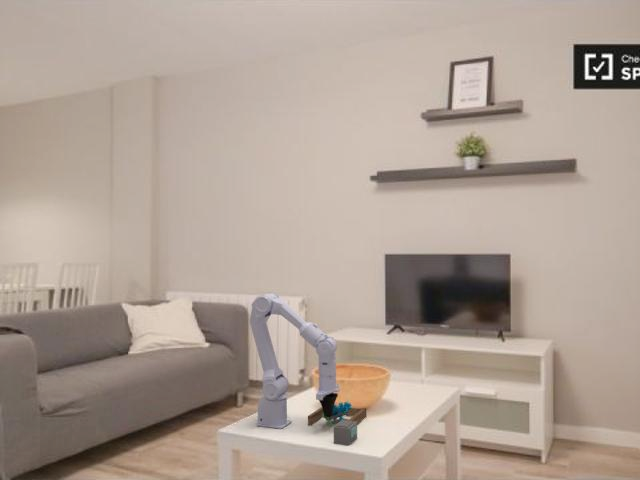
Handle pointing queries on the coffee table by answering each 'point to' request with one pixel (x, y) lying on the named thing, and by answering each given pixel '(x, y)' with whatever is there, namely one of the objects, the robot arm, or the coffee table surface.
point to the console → (345, 432)
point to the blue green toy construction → (338, 412)
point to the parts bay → (354, 411)
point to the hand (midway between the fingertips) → (328, 416)
